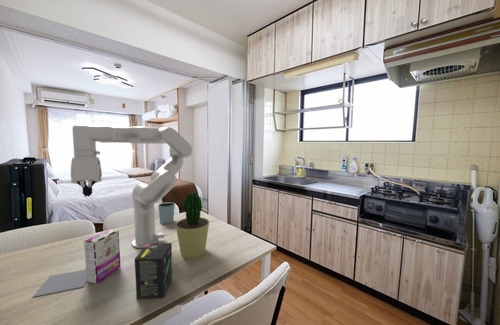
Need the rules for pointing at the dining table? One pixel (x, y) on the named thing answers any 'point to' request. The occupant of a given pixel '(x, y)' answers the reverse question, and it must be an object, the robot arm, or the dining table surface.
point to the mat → (63, 283)
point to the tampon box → (153, 270)
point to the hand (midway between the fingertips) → (87, 195)
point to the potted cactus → (192, 228)
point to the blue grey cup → (166, 212)
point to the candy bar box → (102, 255)
